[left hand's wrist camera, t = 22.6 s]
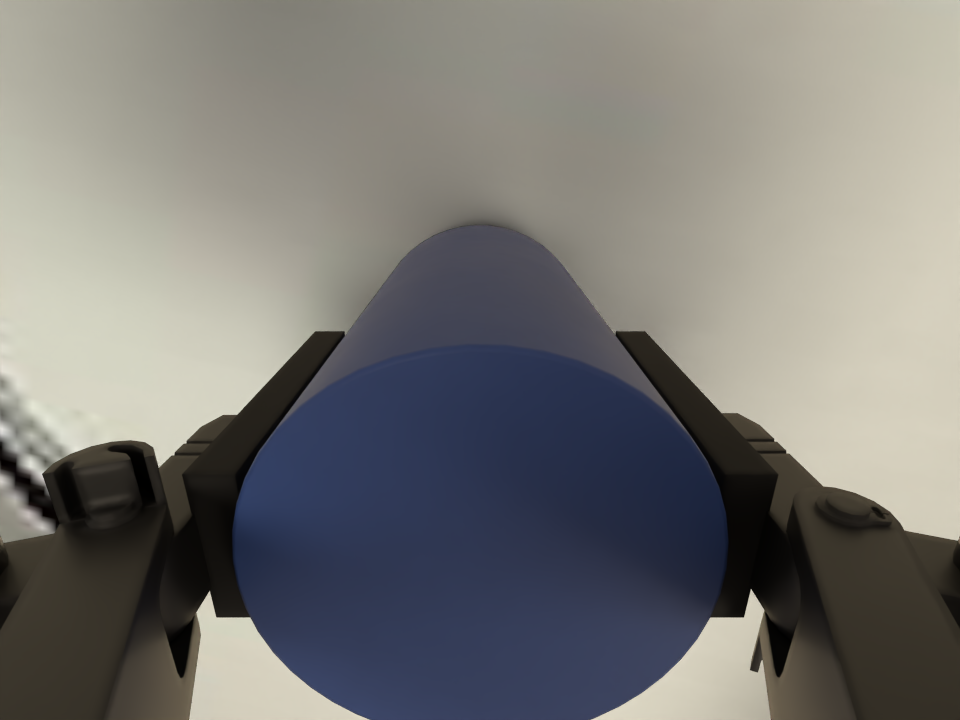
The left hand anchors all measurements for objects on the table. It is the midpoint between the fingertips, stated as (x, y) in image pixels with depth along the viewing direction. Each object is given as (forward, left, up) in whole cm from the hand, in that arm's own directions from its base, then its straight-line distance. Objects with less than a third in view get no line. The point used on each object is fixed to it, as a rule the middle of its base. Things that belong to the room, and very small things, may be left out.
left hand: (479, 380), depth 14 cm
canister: (0, 0, -4) cm, 4 cm away
